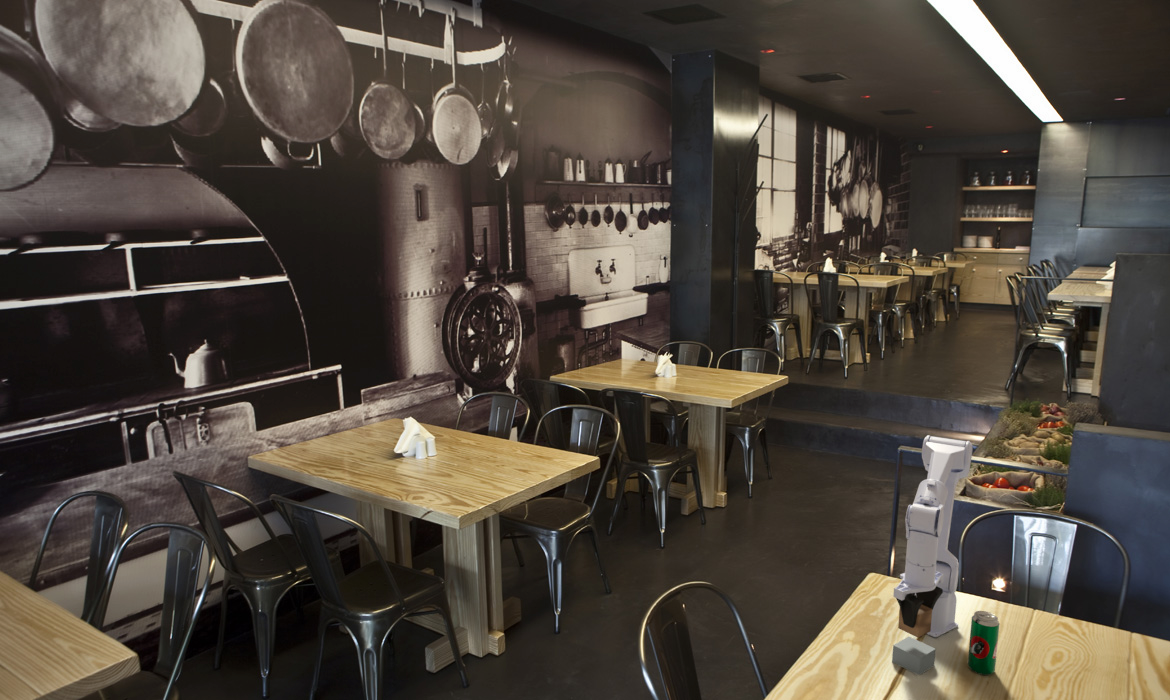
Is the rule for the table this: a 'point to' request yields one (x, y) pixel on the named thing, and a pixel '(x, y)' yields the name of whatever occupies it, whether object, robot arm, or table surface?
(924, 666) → the slate block
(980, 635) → the soda can
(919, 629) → the walnut block
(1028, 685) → the table surface
